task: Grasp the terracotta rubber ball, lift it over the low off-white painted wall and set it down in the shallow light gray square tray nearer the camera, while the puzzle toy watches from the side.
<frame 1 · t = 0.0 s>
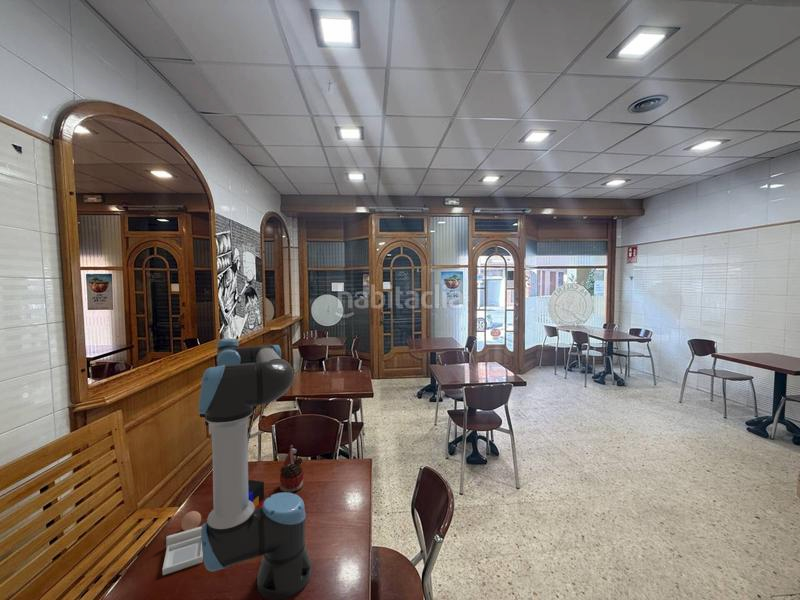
hand: (229, 429, 135), 28 cm above the table, fingers open, 13 cm apart
low wall: (188, 541, 113), on the table
light gray square tray: (184, 556, 106), on the table
ball: (191, 529, 118), on the table
cake: (291, 487, 144), on the table
puzzle toy: (244, 514, 127), on the table
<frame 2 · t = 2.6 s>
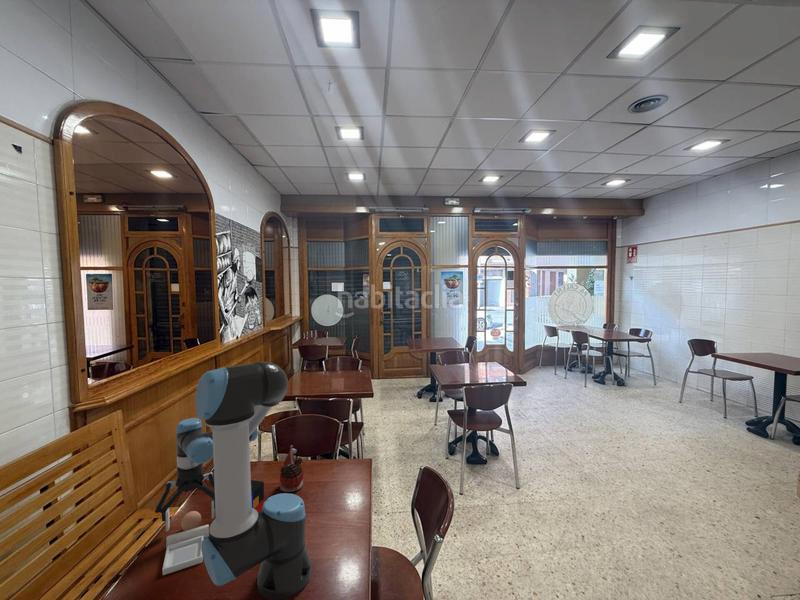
hand: (191, 522, 118), 2 cm above the table, fingers open, 13 cm apart
puzzle toy: (244, 514, 127), on the table, touching gripper
everything else where it was.
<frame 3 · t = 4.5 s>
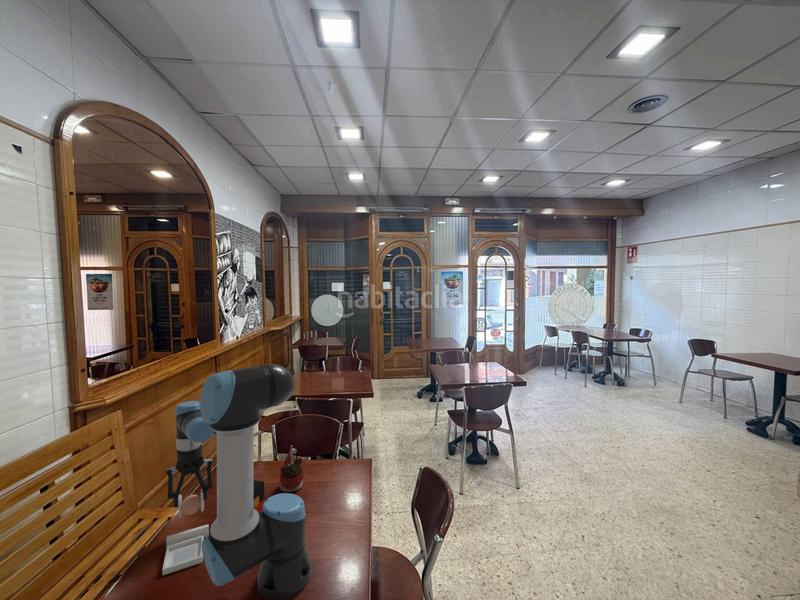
hand: (191, 512, 118), 7 cm above the table, fingers closed on ball, 6 cm apart
ball: (191, 512, 118), point 6 cm above the table, touching gripper
puzzle toy: (244, 513, 127), on the table
everything else where it was.
when the fingers open (2 cm above the table, at t = 8.2 s): ball stays where it is and tips over, resting on light gray square tray.
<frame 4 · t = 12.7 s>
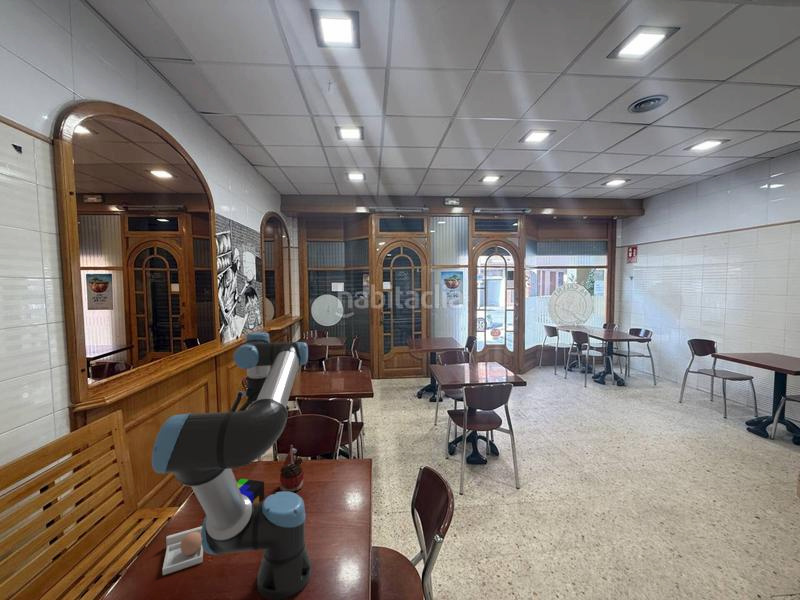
hand: (259, 434, 121), 33 cm above the table, fingers open, 13 cm apart
ball: (184, 552, 106), point 1 cm above the table, tilted 39°, touching light gray square tray
everything else where it was.
at the end: ball 0.2 cm from the light gray square tray (horizontally); ball point 1.3 cm above the table; the gripper is holding nothing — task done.
